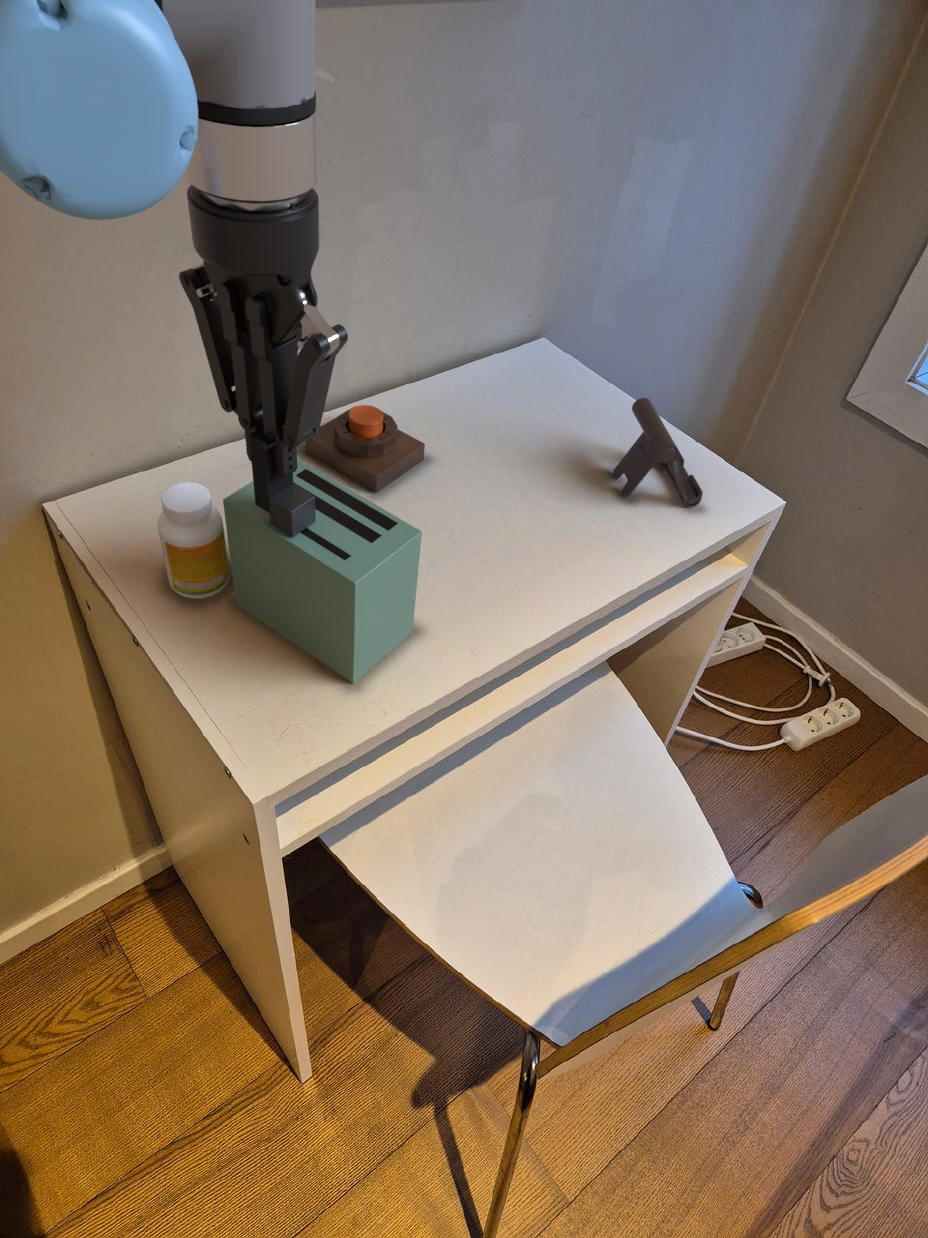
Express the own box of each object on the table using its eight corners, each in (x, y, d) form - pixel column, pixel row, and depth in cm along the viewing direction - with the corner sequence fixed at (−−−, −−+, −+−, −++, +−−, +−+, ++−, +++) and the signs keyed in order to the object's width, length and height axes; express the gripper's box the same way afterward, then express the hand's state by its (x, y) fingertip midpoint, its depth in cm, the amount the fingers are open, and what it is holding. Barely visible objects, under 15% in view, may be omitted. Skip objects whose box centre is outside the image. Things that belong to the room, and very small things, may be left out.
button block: (305, 452, 93) (304, 421, 90) (354, 422, 98) (355, 391, 95) (376, 493, 90) (377, 462, 87) (423, 460, 94) (426, 429, 91)
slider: (270, 523, 67) (268, 497, 65) (293, 508, 68) (292, 482, 67) (292, 538, 66) (291, 512, 64) (316, 521, 68) (315, 496, 66)
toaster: (235, 603, 77) (222, 498, 68) (298, 558, 82) (293, 455, 73) (353, 684, 72) (355, 583, 64) (412, 631, 77) (422, 530, 68)
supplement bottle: (240, 586, 79) (230, 503, 72) (185, 608, 76) (169, 525, 69) (213, 551, 81) (201, 469, 74) (158, 572, 79) (141, 488, 72)
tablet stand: (698, 509, 94) (723, 445, 88) (631, 511, 92) (651, 447, 86) (671, 459, 99) (692, 397, 93) (606, 461, 98) (624, 397, 92)
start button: (341, 428, 91) (341, 414, 89) (364, 414, 93) (364, 400, 91) (367, 443, 89) (367, 428, 88) (389, 428, 92) (390, 414, 90)
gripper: (380, 204, 50) (370, 515, 67) (222, 136, 54) (250, 444, 72) (289, 241, 45) (302, 564, 63) (124, 164, 50) (179, 485, 67)
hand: (274, 500), depth 67 cm, fingers closed
